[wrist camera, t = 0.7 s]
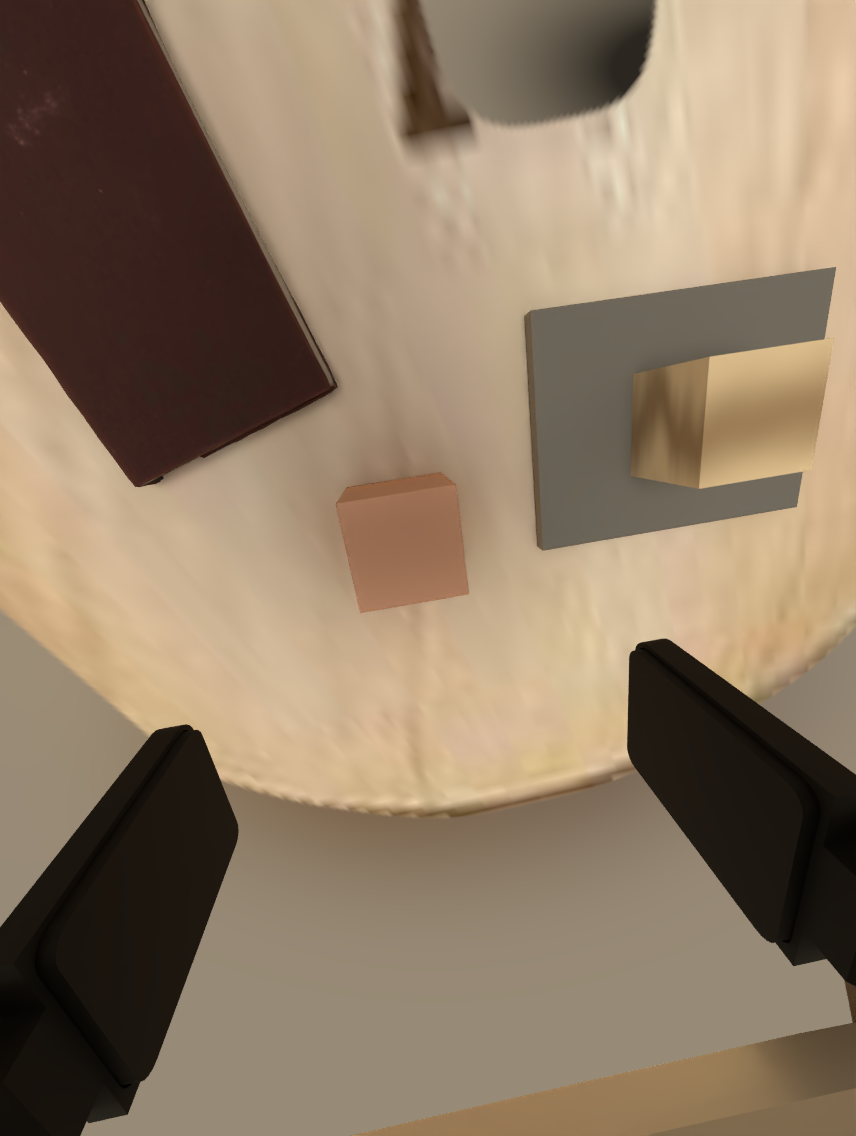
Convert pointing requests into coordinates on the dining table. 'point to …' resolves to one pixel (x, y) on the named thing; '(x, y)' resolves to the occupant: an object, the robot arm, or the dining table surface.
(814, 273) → the plate
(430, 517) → the terracotta block
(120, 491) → the dining table surface
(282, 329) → the book
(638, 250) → the dining table surface
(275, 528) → the dining table surface
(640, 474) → the maple block
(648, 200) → the dining table surface
